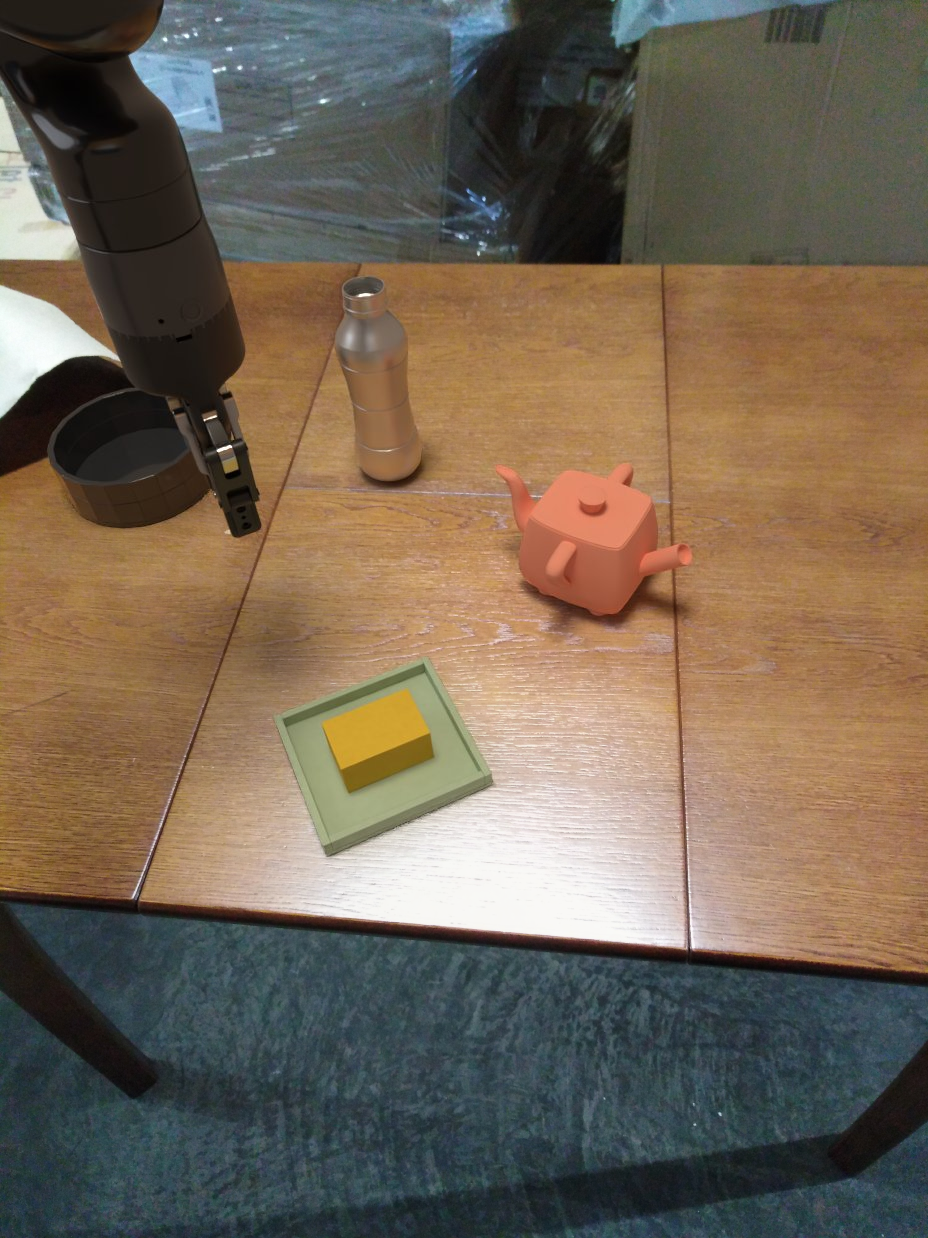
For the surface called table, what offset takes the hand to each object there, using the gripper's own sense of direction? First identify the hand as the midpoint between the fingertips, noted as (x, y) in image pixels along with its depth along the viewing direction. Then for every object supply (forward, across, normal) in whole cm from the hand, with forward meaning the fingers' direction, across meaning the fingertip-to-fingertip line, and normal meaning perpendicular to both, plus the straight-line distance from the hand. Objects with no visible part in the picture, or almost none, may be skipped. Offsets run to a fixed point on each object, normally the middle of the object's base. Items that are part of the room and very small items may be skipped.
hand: (235, 507), depth 66 cm
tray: (+15, +15, +3) cm, 22 cm away
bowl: (+15, -27, -6) cm, 32 cm away
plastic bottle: (+15, -16, +17) cm, 28 cm away
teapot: (+15, +7, +27) cm, 31 cm away
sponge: (+15, +15, +3) cm, 21 cm away
